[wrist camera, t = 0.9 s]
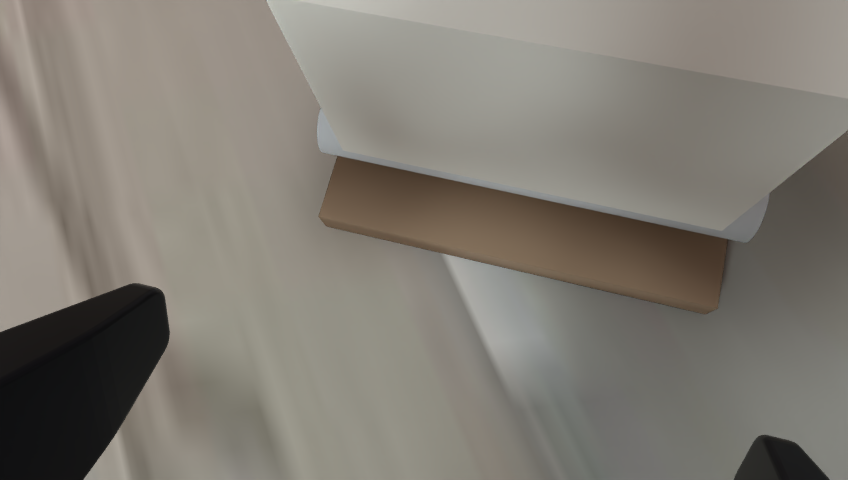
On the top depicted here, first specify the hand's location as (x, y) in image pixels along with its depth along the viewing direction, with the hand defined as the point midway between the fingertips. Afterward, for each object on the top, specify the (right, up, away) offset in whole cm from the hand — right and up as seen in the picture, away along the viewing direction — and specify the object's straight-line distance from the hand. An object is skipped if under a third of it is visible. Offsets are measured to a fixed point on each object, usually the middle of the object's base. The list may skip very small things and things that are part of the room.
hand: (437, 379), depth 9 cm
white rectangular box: (+4, +6, +15) cm, 16 cm away
